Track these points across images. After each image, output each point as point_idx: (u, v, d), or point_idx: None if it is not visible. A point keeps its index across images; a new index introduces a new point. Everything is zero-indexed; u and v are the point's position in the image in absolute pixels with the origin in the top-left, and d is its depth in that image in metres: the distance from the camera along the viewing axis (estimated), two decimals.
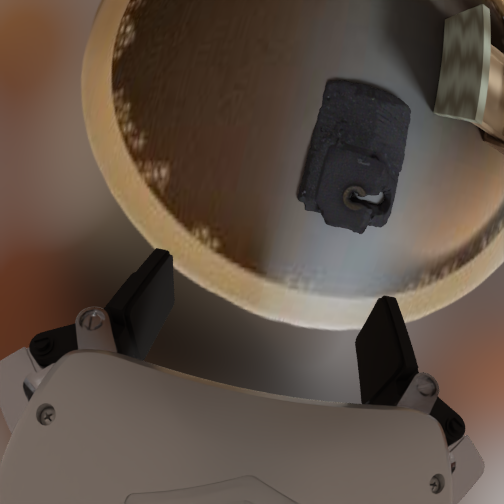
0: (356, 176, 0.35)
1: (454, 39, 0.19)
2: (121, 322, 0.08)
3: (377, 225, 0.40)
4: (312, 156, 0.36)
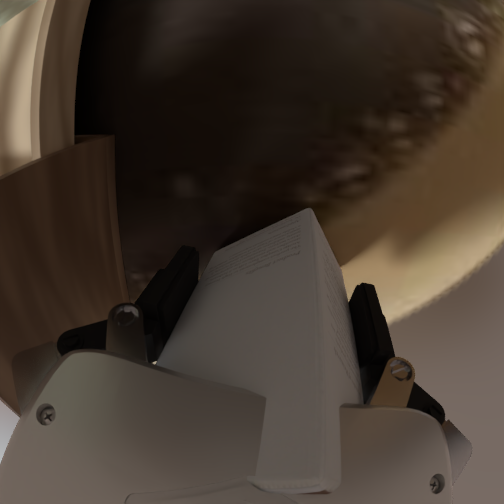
0: None
1: None
2: (154, 317, 0.08)
3: None
4: None
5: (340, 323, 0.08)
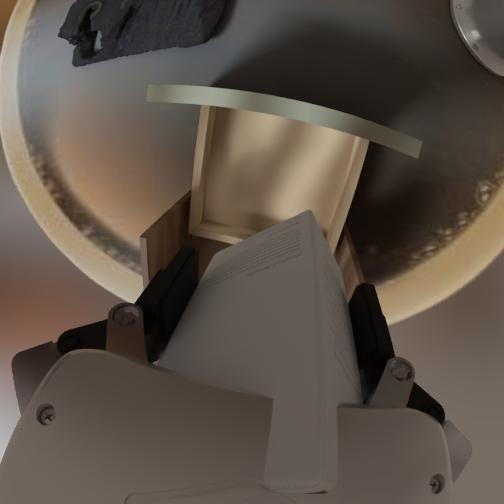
0: (110, 2, 0.16)
1: None
2: (154, 317, 0.09)
3: (73, 58, 0.22)
4: None
5: (340, 325, 0.08)
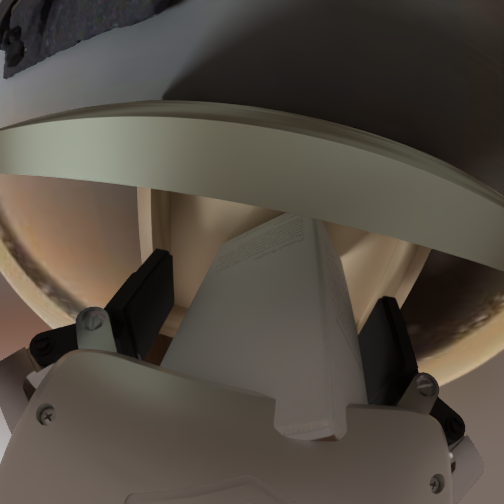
0: None
1: (395, 142, 0.10)
2: (121, 322, 0.08)
3: None
4: None
5: (340, 301, 0.09)
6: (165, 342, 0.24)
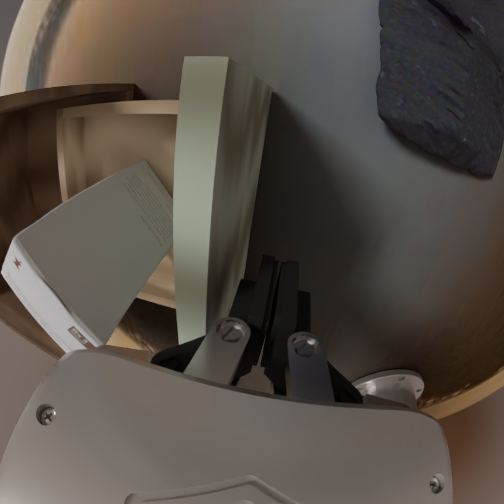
0: (482, 6, 0.06)
1: (237, 282, 0.19)
2: (256, 330, 0.09)
3: None
4: None
5: None
6: (50, 102, 0.16)
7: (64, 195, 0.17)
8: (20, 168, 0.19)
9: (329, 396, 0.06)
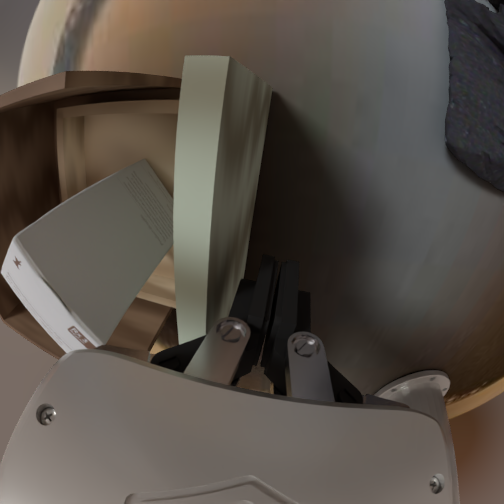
0: None
1: (237, 282, 0.19)
2: (256, 330, 0.09)
3: None
4: None
5: None
6: (87, 94, 0.16)
7: (64, 194, 0.17)
8: (46, 169, 0.19)
9: (329, 396, 0.06)
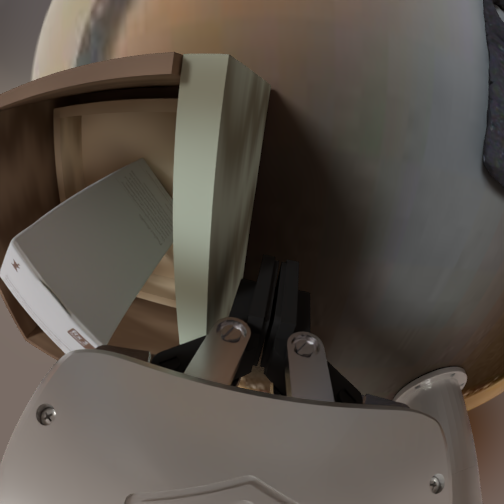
0: None
1: (237, 280, 0.19)
2: (257, 330, 0.09)
3: None
4: None
5: None
6: (122, 89, 0.15)
7: (62, 195, 0.17)
8: None
9: (329, 396, 0.06)
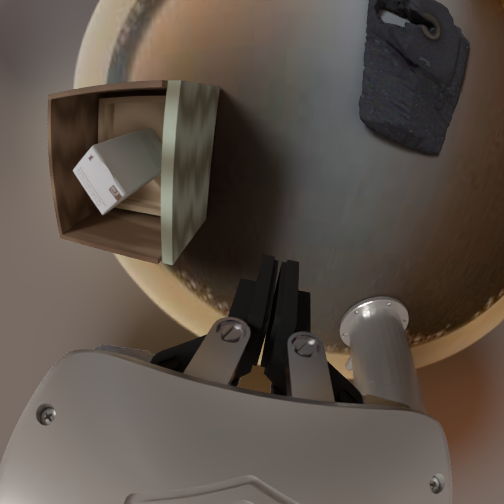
0: (431, 47, 0.18)
1: (199, 194, 0.32)
2: (256, 330, 0.09)
3: None
4: (461, 79, 0.20)
5: (141, 186, 0.27)
6: (138, 90, 0.28)
7: None
8: None
9: (329, 396, 0.06)
